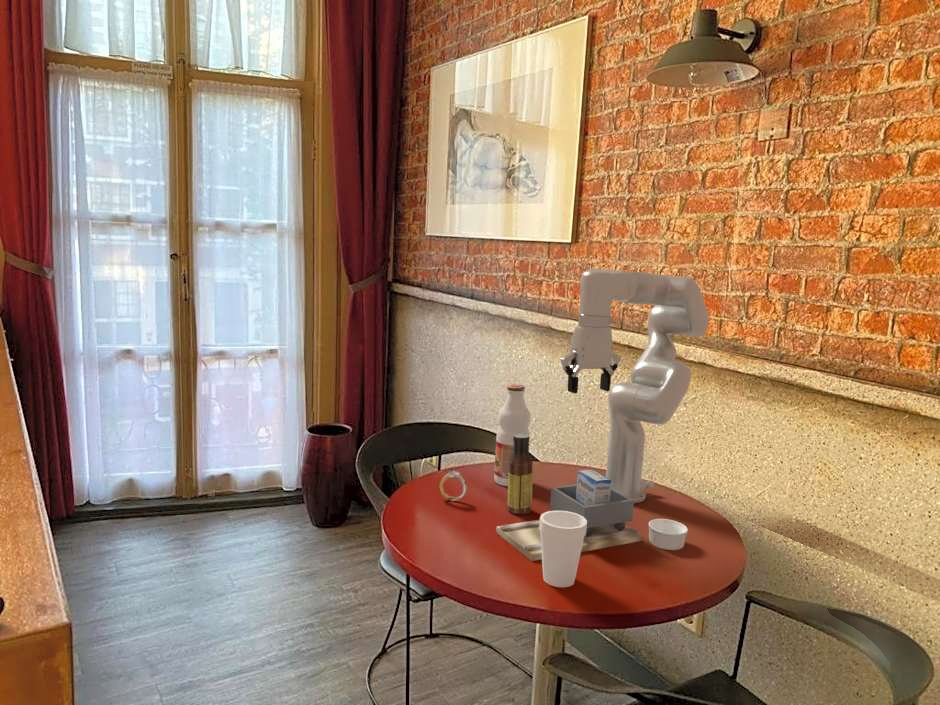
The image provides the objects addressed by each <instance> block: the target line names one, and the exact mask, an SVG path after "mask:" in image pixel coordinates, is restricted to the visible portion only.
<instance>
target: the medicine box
mask: <svg viewBox="0 0 940 705" xmlns="http://www.w3.org/2000/svg"><path fill="white" fill-rule="evenodd" d="M576 484H577V489H576V501H578V502H579V503H581V504H583V505H584V506H590V505H596V504H603V503H610V492H611V480H610V479H608V478H607V477H606V475H604V474H601V473H599V472H598V471H595V470H593V469H582V470H578V471H577V478H576Z"/></svg>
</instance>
